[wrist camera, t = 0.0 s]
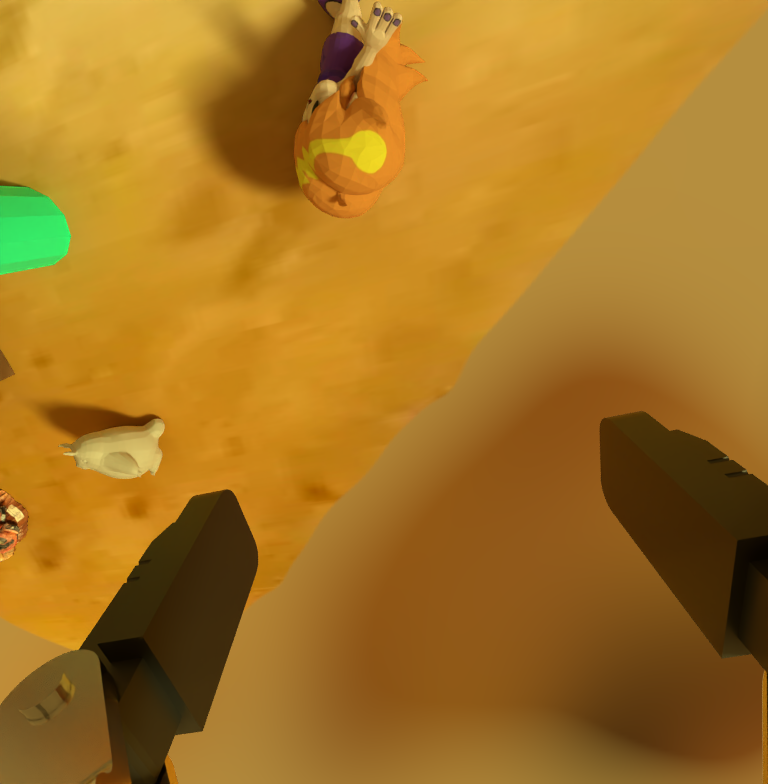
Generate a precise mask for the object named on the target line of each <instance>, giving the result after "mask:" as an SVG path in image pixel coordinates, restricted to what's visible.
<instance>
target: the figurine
mask: <svg viewBox="0 0 768 784" xmlns="http://www.w3.org/2000/svg"><path fill="white" fill-rule="evenodd" d="M164 428H165V424H164V422H163V420H162V419H153V420H151V421H150V422H149V423H147V424H146V425H144V426H119V427H113V428H109V429H105V430H101V431H97V432H92V433H89V434H85V435H83V436H81V437H80V438H78V439H77V440H76V441H75V442H74V443H73V444H67V443H65V444H61V445H59V446H58V447H65V448H70V449H71V450H72V452H65V453H63V454H64V455H70V456H74V459H75V461H76V466H77V467H80V468H82V469H92V470H95V471H97V472H99V473H102V474H105V475H107V476H110V477H114V478H120V479H130V478H135V477H140V475H142V474H144V473H145V472H146V471H148V470H150V472H151V475H153V474H154V476H155V472H156V471H157V469H158V467H159V464H160V462H161V459H162V451H161V450H160V449H159V447H158V439H159V437H160V436H161V435H162V434H163V432H164Z"/></svg>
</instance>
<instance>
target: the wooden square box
mask: <svg viewBox="0 0 768 784" xmlns="http://www.w3.org/2000/svg"><path fill="white" fill-rule="evenodd" d="M14 374H15V373H14V372H13V370H12V368H11V367H10V365H9V363H8V362H7V360H6V358H5V357H4V355H3V353H2V352H1V350H0V381H1V380H3V379H6V378H8V377H10V376H12V375H14Z"/></svg>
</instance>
